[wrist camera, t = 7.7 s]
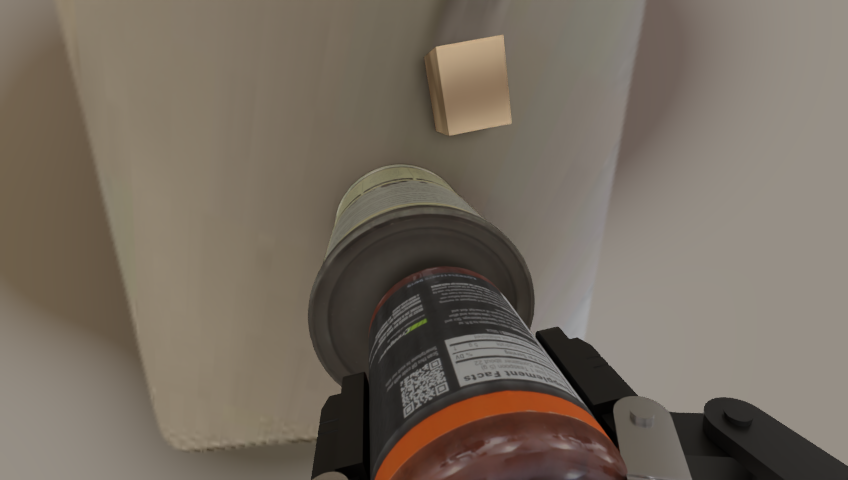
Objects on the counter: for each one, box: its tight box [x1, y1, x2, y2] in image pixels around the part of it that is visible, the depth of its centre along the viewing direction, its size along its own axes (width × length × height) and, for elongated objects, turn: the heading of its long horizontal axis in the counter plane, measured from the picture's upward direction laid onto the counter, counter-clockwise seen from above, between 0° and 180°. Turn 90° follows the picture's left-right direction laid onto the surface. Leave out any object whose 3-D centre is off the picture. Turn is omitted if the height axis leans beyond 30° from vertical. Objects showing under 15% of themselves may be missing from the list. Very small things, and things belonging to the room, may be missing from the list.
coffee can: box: [308, 164, 534, 387], centre depth 24 cm, size 10×10×14 cm
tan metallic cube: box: [424, 35, 512, 136], centre depth 26 cm, size 5×4×5 cm
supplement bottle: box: [368, 266, 628, 480], centre depth 11 cm, size 6×6×11 cm
